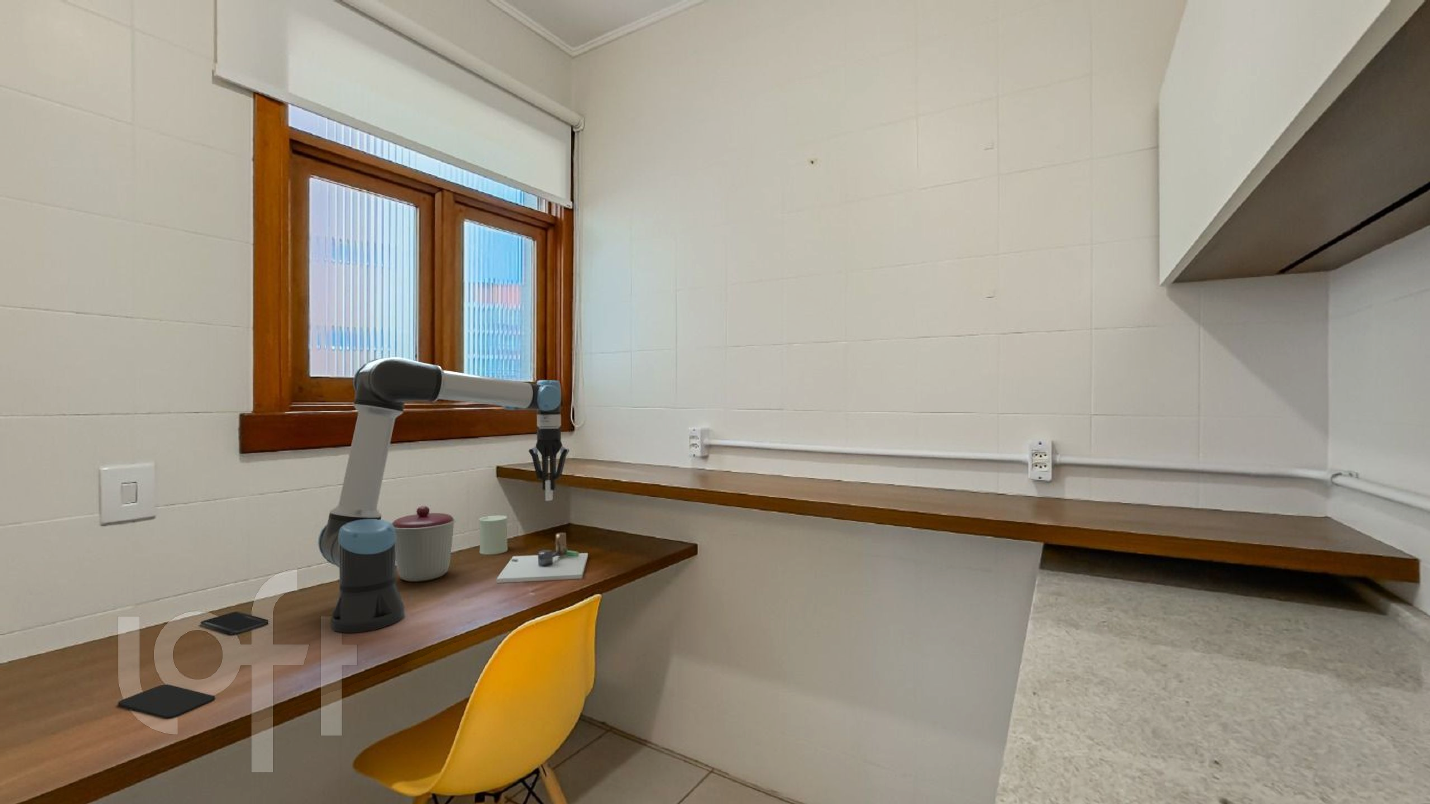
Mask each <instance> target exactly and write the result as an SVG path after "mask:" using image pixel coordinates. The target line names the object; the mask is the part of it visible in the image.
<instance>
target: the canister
mask: <svg viewBox="0 0 1430 804" xmlns="http://www.w3.org/2000/svg"><path fill="white" fill-rule="evenodd" d="M415 512H416V514H411V515H405V516H402V517H398V518H397V519H395V520H393V522H390V523H391V524H392V525H393V526H394V529H395V535H396V541H395V562H396V569H397V573H398V576H399V578H400V579H401V580H403V581H406V582H426V581H431V580H435V579H438V578H440V577H442V576H444V575H445V574H446V573H447V572H448V570H449V568H450V561H451V556H452V555H451V554H452V547H453V536H454V528H455V527H454V525H455V523H456V522H457V518H456V517H455V516H452V515H450V514H447V513H443V512H442V513H440V512H430V508H429V507H428V506H427V505H425V506H423V505H422V506H418V508H416V511H415Z"/></svg>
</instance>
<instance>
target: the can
mask: <svg viewBox="0 0 1430 804" xmlns="http://www.w3.org/2000/svg"><path fill="white" fill-rule="evenodd" d="M478 521H479V554H481V555H486V556H487V555H490V556H491V555H498V554H503V553H505V552H508V550H509V549H508V516H507V515H488V516H483V517H479V519H478Z"/></svg>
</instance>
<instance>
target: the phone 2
mask: <svg viewBox="0 0 1430 804" xmlns="http://www.w3.org/2000/svg"><path fill="white" fill-rule="evenodd" d="M268 625H269V619H267V618H263V617H259V616H255V615H252V614H248V613H244V612H241V611H234V612H233V611H231V612H229V613H226V614H225V613H224V614H222V615H218V616H215V617H211V618H208V619H205V620H202V621H200V626H201V627H203V628H205V629H210V630H213V631H216V632H219V633H222V634H225V635H229V636H236V635H240V634H243V633H245V632H246V633H247V632H249V631H253V630H256V629H258V628H262V627H266V626H268Z"/></svg>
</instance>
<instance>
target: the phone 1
mask: <svg viewBox="0 0 1430 804" xmlns="http://www.w3.org/2000/svg"><path fill="white" fill-rule="evenodd" d="M215 700H216V696H215V695H212V694H208V693H205V692H200V691H196V690H193V689H188V688H184V687H180V686H176V685H172V684H169V683H167V684H160V685H158V686H154V687H151V688H150V689H147V690H144V691H142V692H141V691H140V692H139V693H136V694H134V695H130V696H128V697H126V698H123V699H121V700H120V701H118V702H117V707H119V708H123V709H126V710H128V711H129V710H131V711H133V712H137V713H141V714H146V715H148V716H149V715H150V716H153V717H156V718H161V719H164V720H170V719H174V718H178V717H180V716H183V715H185V714H187V713H188V712H191V711H194V710H196V709H198V708H201V707H203V706H205V705H207V704H210V703H212V702H214V701H215Z"/></svg>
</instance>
